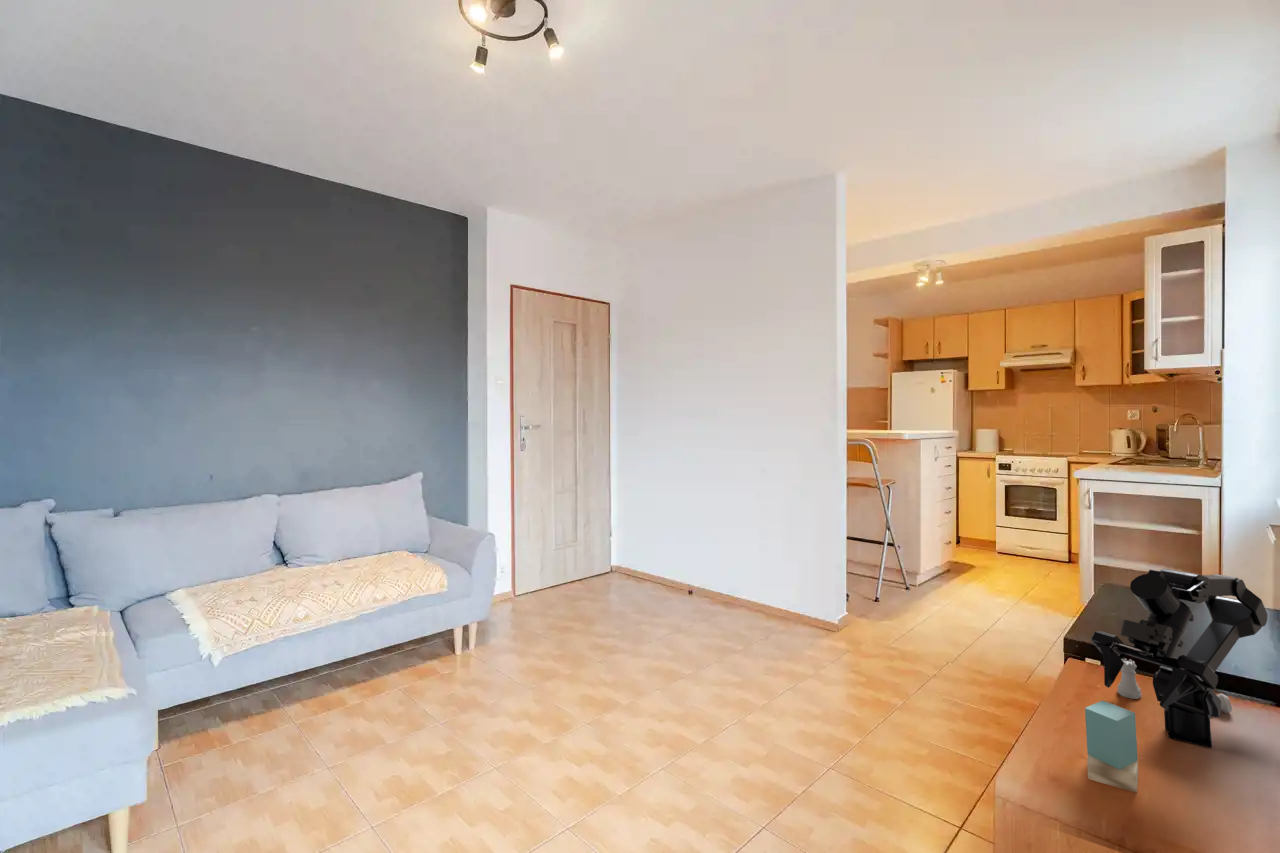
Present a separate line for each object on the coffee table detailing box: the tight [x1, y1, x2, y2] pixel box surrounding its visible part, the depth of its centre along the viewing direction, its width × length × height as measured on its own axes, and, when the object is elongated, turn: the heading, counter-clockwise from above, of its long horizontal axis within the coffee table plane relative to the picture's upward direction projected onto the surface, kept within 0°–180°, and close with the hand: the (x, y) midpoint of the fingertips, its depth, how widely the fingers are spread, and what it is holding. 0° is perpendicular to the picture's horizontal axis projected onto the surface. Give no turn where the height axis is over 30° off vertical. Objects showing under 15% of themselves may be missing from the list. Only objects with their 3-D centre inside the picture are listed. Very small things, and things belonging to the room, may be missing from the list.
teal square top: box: [1084, 700, 1139, 770], centre depth 111 cm, size 5×5×9 cm
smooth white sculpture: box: [1216, 693, 1233, 714], centre depth 130 cm, size 4×8×5 cm
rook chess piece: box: [1116, 658, 1143, 700], centre depth 138 cm, size 4×4×8 cm
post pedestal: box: [1086, 754, 1139, 794], centre depth 111 cm, size 7×7×7 cm
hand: (1133, 696), depth 114 cm, fingers open, 9 cm apart
